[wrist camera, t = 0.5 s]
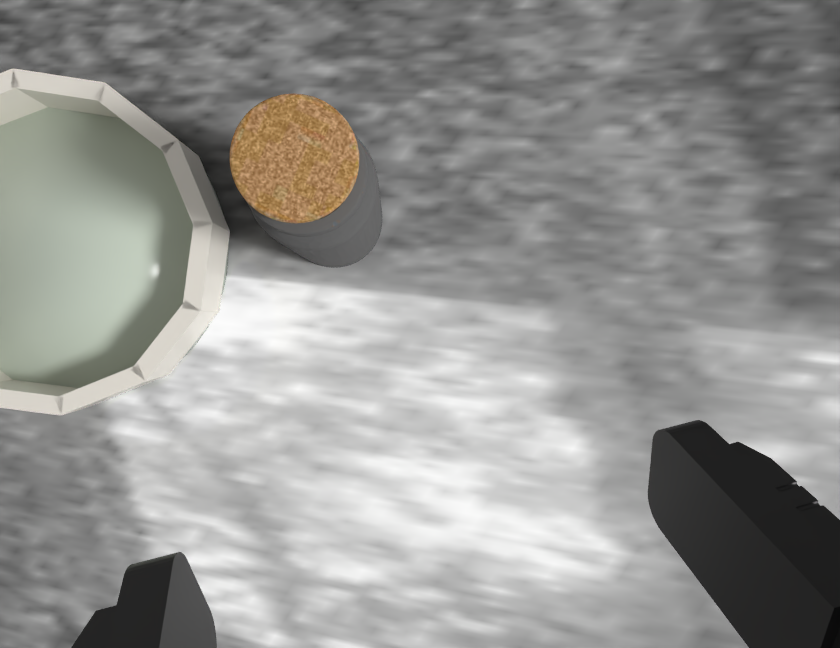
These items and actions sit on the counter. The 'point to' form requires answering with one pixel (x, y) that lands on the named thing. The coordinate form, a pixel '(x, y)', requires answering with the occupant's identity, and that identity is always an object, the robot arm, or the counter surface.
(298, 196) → the bottle
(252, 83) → the counter surface
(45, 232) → the dish
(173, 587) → the robot arm
